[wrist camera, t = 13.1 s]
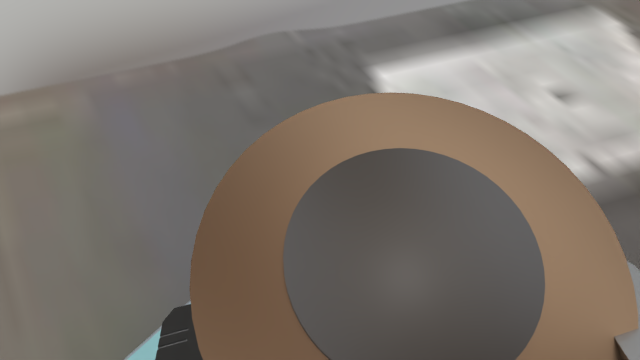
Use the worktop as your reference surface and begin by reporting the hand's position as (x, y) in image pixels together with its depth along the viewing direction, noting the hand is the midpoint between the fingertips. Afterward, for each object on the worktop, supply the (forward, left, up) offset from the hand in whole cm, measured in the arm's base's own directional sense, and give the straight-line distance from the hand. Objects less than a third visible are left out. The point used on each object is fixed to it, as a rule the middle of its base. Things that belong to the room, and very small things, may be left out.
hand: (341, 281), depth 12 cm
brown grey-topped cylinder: (+1, +2, -4) cm, 5 cm away
